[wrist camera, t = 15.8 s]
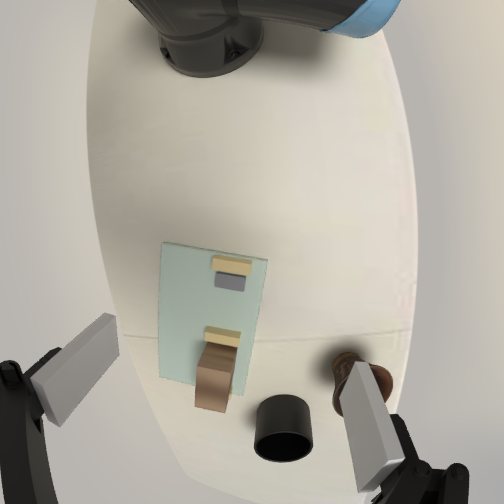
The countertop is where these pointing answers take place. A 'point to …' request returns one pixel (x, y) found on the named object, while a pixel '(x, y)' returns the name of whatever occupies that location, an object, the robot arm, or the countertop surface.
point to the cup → (343, 370)
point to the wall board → (207, 309)
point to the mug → (283, 429)
